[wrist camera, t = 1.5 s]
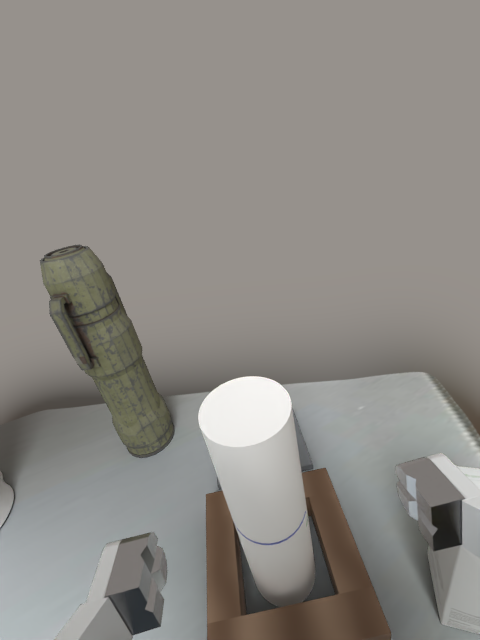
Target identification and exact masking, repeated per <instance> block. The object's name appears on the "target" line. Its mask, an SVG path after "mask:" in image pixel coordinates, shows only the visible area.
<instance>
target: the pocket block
mask: <svg viewBox="0 0 480 640" xmlns="http://www.w3.org/2000/svg"><path fill="white" fill-rule="evenodd" d="M302 479H303V485H304V492H305V499H306V506H307V513H308V516H312V519H313V523H314V526H315V529H316V533H317V536H318V539H319V542H320V546H321V549H322V552H323V555H324V559H325V562H326V565H327V569H328V572H329V575H330V578H331V582H332V585H333V588H334V592H335V595H332V596H328V597H324V598H319V599H315V600H310V601H306V602H301V603H297V604H293V605H288V606H284V607H279V608H275V609H270V610H266V611H261V612H257V613H253V614H248V615H247V614H246V603H245V593H244V583H243V572H242V562H241V551H240V541H239V536H238V533H237V530H236V528H235V525H234V522H233V519H232V516H231V513H230V511H229V508H228V505H227V502H226V499H225V496H224V494H223V491H219V492H214V493H210V494H206V548H207V640H390V639H391V631H390V629H389V626H388V624H387V621H386V618H385V616H384V613H383V611H382V608H381V606H380V603H379V601H378V598H377V596H376V593H375V591H374V588H373V586H372V583H371V581H370V578H369V576H368V573H367V571H366V568H365V566H364V563H363V561H362V558H361V556H360V553H359V551H358V548H357V546H356V543H355V541H354V538H353V536H352V533H351V530H350V528H349V525H348V523H347V520H346V518H345V515H344V513H343V510H342V508H341V505H340V503H339V500H338V498H337V495H336V493H335V490H334V488H333V485H332V483H331V480H330V478H329V475H328V473H327V470H326V468H322V469H317V470H313V471H308V472H304V473H302Z"/></svg>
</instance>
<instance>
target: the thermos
mask: <svg viewBox="0 0 480 640" xmlns="http://www.w3.org/2000/svg"><path fill="white" fill-rule="evenodd" d="M40 264H41V271H42V277H43V283H44V285H45V287H46V289H47V291H48V293H49V294H50V296H51V297H50V298H51V300H50V301H49V308H50V316H51V317H52V319H53V321H54V323H55V325H56V327H57V328H58V330H59V332H60V334H61V336H62V337H63V339H64V341H65V343H66V345H67V347H68V348H69V350H70V352H71V354H72V356H73V357H74V359H75V361H76V362H77V364H78V365H79V367H80V368H81V370H84V371H85V373H86V374H88V375H89V376H91V377H92V378H93V380H94V382H95V384H96V386H97V387H98V389H99V391H100V393H101V395H102V397H103V399H104V401H105V403H106V404H107V406H108V408H109V410H110V412H111V414H112V420H113V425H114V427H115V429H116V431H117V433H118V435H119V437H120V438H121V440H122V442H123V444H125V445H126V446H127V449H128V451H129V453H130V454H132V455H133V456H135V457H139V458H143V457H149V456H152V455H155V454H157V453H158V452H160V451H162V450H163V449H164V448H165V447H166V446H167V445H168V444H169V443H170V441H171V440H172V438H173V435H174V425H173V423H172V422H171V416H170V413H169V411H168V408H167V406H166V403H165V401H164V399H163V398H162V396H161V395H160V394H159V393H158V392H157V391H156V388H155V386H154V383H153V381H152V378H151V376H150V374H149V371H148V369H147V366H146V364H145V362H144V360H143V357H142V346H141V344H140V341H139V339H138V336H137V334H136V332H135V329H134V326H133V324H132V321H131V320H130V319H129V317H128V316H127V314H126V311H125V309H124V306H123V304H122V302H121V299H120V297H119V294H118V292H117V289H116V287H115V285H114V282H113V280H112V278H111V276H110V275H109V274H108V273H107V272H106V270H105V268H104V265H103V264H102V262H101V261H100V260H99V258H98V257H97V256H96V255H95V254H94V253H93V251H92V250H91V249H90V248H89V247H88V246H82V245H73V246H69V247H64V248H61V249H58V250H55V251H52V252H50V253H48V254H46V255H44V258H43V259H41V260H40Z"/></svg>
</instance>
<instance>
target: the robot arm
mask: <svg viewBox="0 0 480 640" xmlns="http://www.w3.org/2000/svg"><path fill="white" fill-rule="evenodd" d="M395 474H396V475H397V477H398V478H399V481H398V483H397V490H398V494H399V497H400V500H401V502H402V504H403V506H404V508H405V510H406V511H407V513H408V514H409V516H410V517H412V518H414V519H416V520H417V521H418V525H419V531H420V532H421V534H422V535H423V537H424V538H425V540H426V541H427V542H428V544H429V545H430V547H431V548H432V550H433V551H438V550H442V549H446V548H451V547H455V546H459V545H462V547H464V548H465V549H467V550H468V551H469V552H471V553H472V554H474V555H475V556H477V557H478V558H480V489H479V488H478V487H477V486H476V485H475V484H474V483H473V482H472V481H471V480H470V479H469V478H468V477H467V476H466V475H465V474H464V473H463V472H462V471H461V470H460V469H459V468H458V467H457V466H456V465H455V464H454V463H453V462H452V461H450V460H449V459H448V458H447V457H446V456H445V455H444V454H442V453H438V454H435V455H431V456H427V457H423V458H419V459H416V460H412V461H409V462H405V463H402V464H398V465H396V467H395ZM13 500H14V492H13V489H12V488H11V486H10V485H8V484H7V483H5V482H4V481H3V474H2V472H1V471H0V527H1V526H2V524H3V523H4V521H5V520H6V518H7V516H8V514H9V512H10V510H11V507H12V504H13ZM157 541H158V538H157V536H156V535H155V533H154V532H151V533H147V534H143V535H139V536H134V537H130V538H126V539H122V540H119V541H115V542H111V543H107V544H106V546H105V547H104V549H103V551H102V554H101V557H100V561H99V564H98V567H97V570H96V573H95V576H94V579H93V582H92V585H91V588H90V591H89V594H88V597H87V600H86V603H84V604H81V605H80V606H79V607H78V609H77V610H76V611H75V613H74V614H73V615H72V616H71V618H70V619H69V620H68V622H67V623H66V624H65V626H64V627H63V628H62V629H61V631H60V632H59V633H58V635H57V636H56V637H55V638H54V640H132V638H133V636H132V635H135V634H138V633H142V632H145V631H148V630H151V629H154V628H158V627H161V620H162V612H163V604H164V599H163V597H162V595H161V593H160V592H161V590H162V589H163V587H164V586H165V584H166V579H167V560H166V556H165V553H164V551H163V548H161V547H159V546H157Z"/></svg>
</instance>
